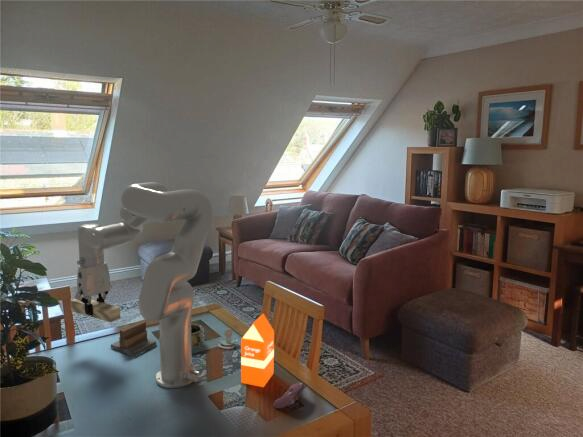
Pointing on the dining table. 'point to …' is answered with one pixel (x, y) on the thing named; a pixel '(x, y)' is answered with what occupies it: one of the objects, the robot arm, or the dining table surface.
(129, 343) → the ridge stand
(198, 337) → the vessel
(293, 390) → the purple oblong lump
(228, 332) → the pacifier
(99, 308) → the pine batten
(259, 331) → the orange juice
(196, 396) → the dining table surface
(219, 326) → the dining table surface
